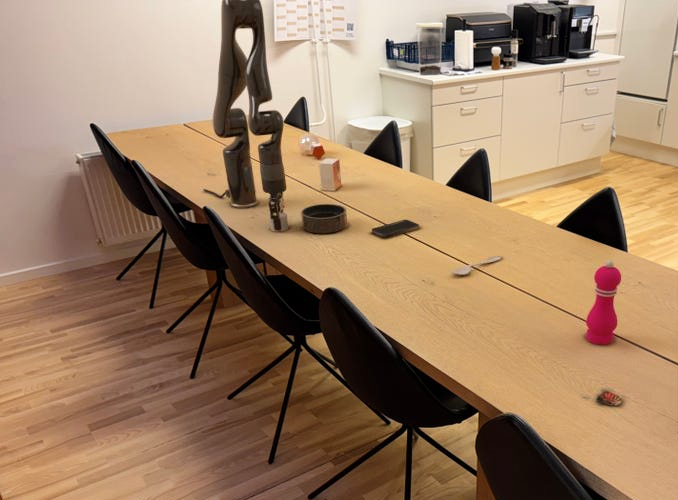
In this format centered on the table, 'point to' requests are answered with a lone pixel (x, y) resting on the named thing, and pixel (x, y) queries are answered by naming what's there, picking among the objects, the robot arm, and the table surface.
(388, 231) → the phone
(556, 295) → the table surface
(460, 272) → the spoon
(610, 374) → the table surface
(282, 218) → the grey short cylinder
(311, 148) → the potion bottle
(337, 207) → the bowl
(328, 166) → the small box
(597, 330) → the pepper mill
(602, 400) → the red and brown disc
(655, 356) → the table surface
